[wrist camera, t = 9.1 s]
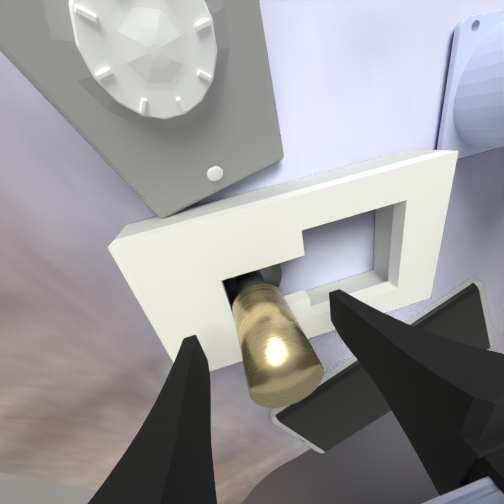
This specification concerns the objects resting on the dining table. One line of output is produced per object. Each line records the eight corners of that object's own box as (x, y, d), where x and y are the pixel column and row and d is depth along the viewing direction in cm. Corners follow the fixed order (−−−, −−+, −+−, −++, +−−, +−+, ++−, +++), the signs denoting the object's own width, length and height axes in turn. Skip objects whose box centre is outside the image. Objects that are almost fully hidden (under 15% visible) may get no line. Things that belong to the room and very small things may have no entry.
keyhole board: (409, 148, 16) (458, 150, 13) (397, 275, 22) (430, 297, 18) (126, 224, 15) (107, 247, 12) (185, 343, 20) (183, 380, 17)
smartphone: (482, 335, 31) (497, 345, 29) (315, 442, 33) (321, 457, 32) (468, 270, 25) (486, 279, 23) (265, 408, 27) (269, 424, 26)
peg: (281, 244, 18) (358, 339, 9) (266, 296, 20) (319, 414, 11) (219, 236, 16) (242, 337, 8) (209, 293, 18) (219, 423, 10)
